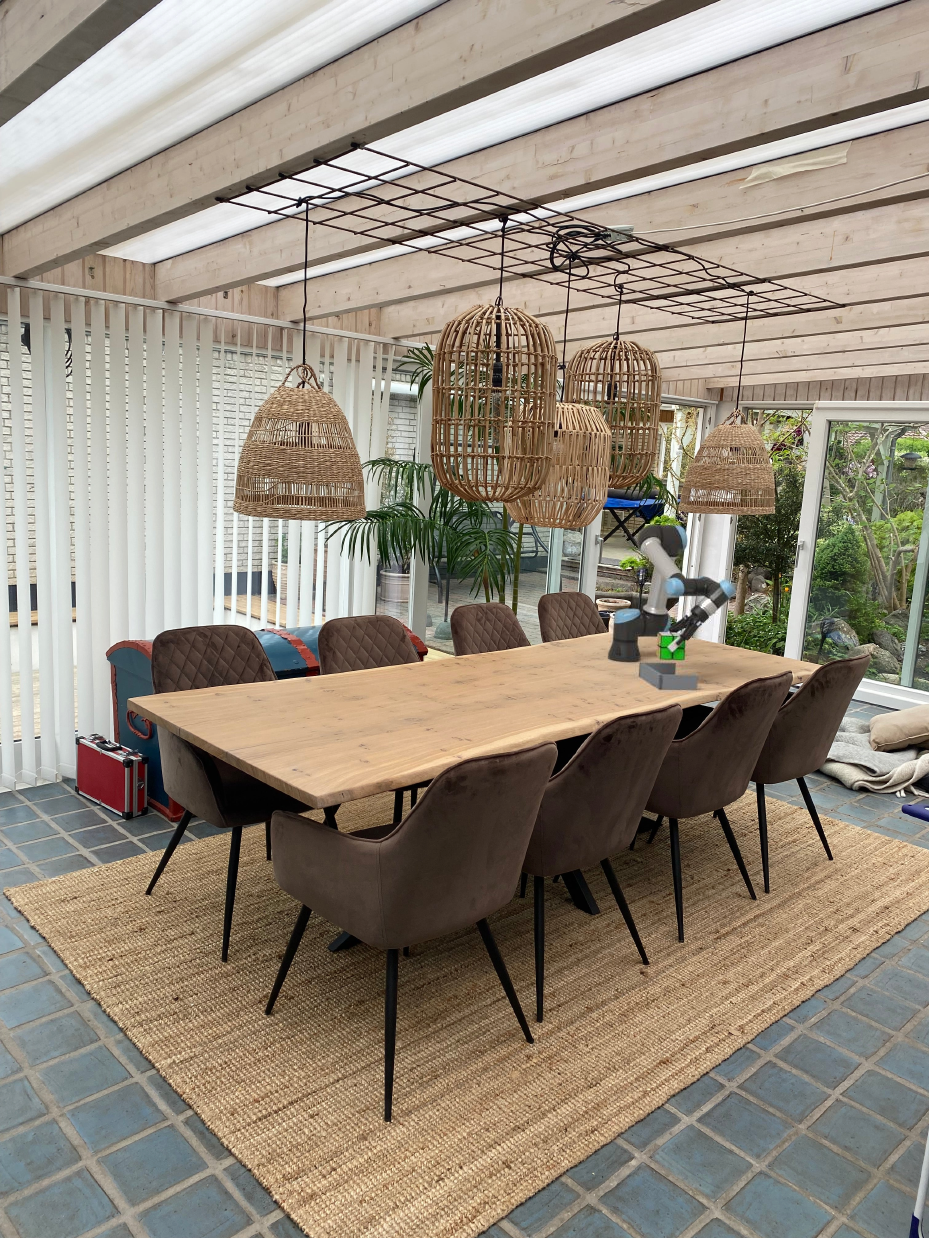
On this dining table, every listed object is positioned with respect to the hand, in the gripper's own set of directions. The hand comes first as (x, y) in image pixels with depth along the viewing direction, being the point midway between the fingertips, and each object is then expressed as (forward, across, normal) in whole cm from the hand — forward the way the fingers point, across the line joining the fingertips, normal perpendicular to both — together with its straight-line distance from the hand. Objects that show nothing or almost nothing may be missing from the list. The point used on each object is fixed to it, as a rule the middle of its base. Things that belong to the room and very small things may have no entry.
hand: (664, 647), depth 367 cm
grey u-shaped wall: (+9, 0, -12) cm, 15 cm away
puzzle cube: (+2, 0, -5) cm, 5 cm away
